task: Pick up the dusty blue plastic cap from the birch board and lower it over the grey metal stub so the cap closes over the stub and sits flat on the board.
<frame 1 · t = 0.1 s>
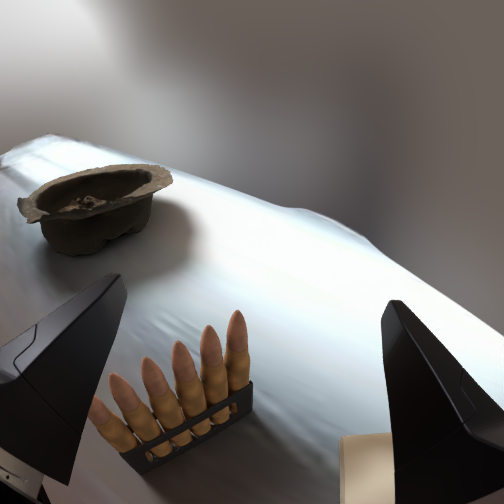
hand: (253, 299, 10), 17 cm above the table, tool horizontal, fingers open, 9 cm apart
stone bowl: (101, 224, 45), on the table
ammunition clip: (191, 436, 20), on the table
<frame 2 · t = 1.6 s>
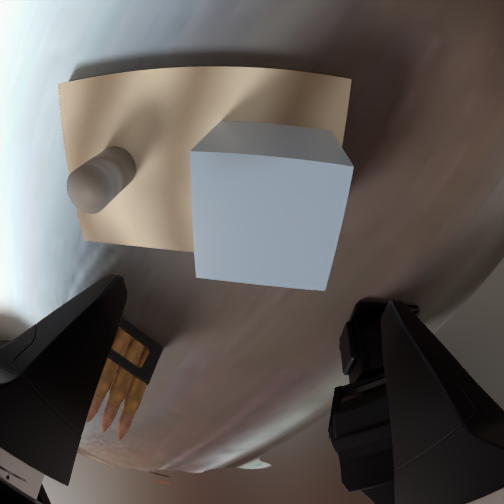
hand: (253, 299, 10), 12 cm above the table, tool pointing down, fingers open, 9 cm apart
housing cap: (272, 174, 18), point 1 cm above the table, touching stub board
stub board: (190, 162, 20), on the table
ammunition clip: (123, 321, 31), on the table
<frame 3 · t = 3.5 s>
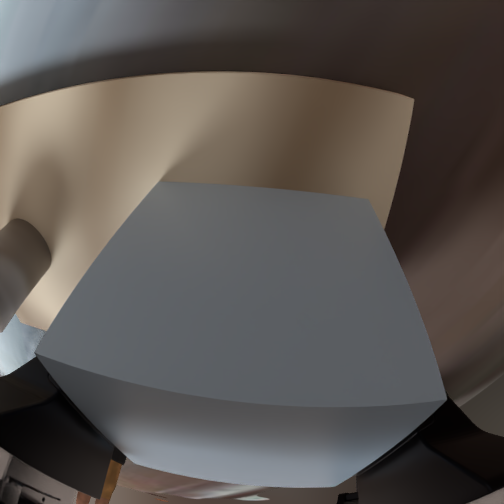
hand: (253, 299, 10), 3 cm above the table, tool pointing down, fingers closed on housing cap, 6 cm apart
housing cap: (256, 272, 11), point 1 cm above the table, touching gripper, stub board
stub board: (126, 240, 12), on the table
ammunition clip: (90, 393, 23), on the table
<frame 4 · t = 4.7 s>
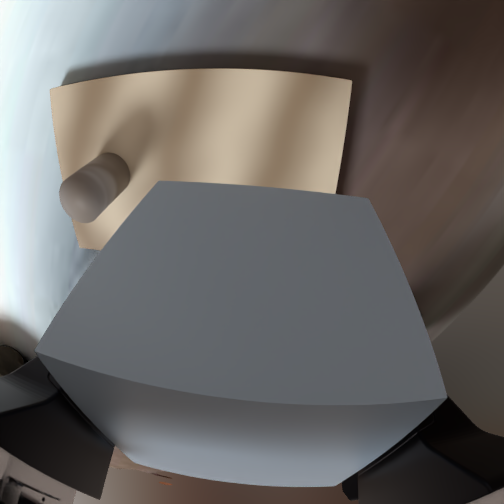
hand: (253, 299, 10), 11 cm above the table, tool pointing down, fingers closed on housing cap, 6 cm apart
housing cap: (256, 271, 11), point 10 cm above the table, touching gripper
stub board: (185, 167, 19), on the table
stone bowl: (29, 369, 45), on the table
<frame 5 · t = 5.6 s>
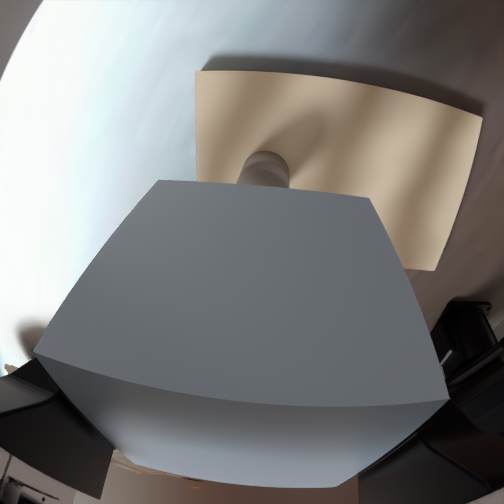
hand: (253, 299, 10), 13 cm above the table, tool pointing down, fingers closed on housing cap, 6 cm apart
housing cap: (256, 271, 11), point 11 cm above the table, touching gripper
stub board: (339, 174, 20), on the table
when the fingers open (3 cm above the table, at t = 8.1 s): housing cap stays where it is, resting on stub board.
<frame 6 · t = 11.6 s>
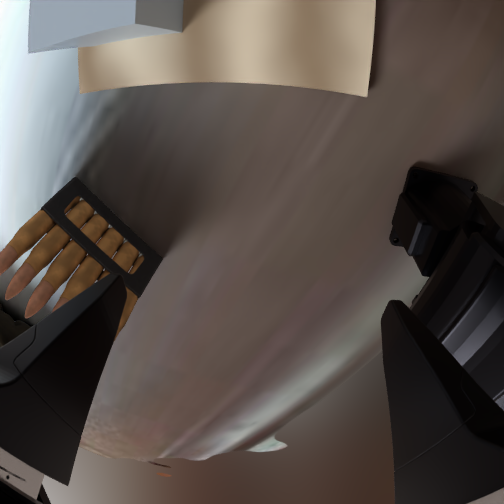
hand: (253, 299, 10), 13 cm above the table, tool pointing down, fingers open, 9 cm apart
stone bowl: (9, 324, 39), on the table
ammunition clip: (114, 222, 25), on the table
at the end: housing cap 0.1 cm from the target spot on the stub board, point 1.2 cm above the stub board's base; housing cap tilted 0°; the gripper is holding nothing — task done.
